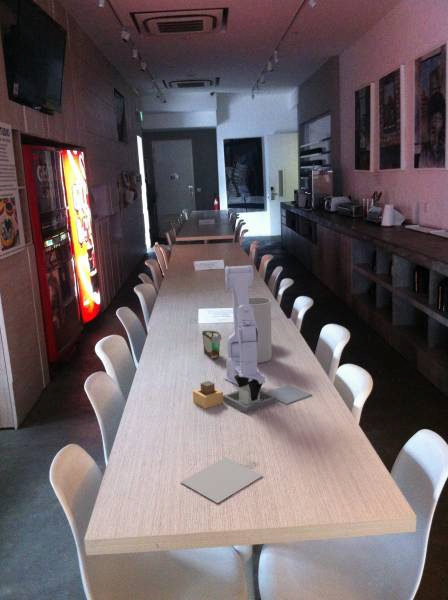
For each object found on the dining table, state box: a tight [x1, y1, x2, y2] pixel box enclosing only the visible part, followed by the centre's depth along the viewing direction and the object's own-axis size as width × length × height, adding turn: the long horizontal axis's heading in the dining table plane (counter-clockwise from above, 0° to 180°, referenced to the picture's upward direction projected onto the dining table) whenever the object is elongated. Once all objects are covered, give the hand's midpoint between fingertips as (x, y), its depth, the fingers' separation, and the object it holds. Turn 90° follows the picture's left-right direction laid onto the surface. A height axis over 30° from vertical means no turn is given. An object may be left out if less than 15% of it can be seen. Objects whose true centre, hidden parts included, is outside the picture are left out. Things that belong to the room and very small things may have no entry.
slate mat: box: [265, 384, 312, 405], centre depth 198 cm, size 12×12×1 cm
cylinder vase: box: [249, 296, 273, 364], centre depth 232 cm, size 12×12×25 cm
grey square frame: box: [223, 389, 277, 414], centre depth 193 cm, size 13×13×2 cm
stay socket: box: [192, 387, 224, 409], centre depth 193 cm, size 7×7×4 cm
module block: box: [238, 385, 261, 406], centre depth 192 cm, size 5×5×5 cm
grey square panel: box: [180, 457, 264, 504], centre depth 152 cm, size 23×25×1 cm
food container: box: [201, 330, 223, 361], centre depth 240 cm, size 12×6×10 cm, turn 22°
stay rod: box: [200, 380, 216, 395], centre depth 193 cm, size 3×3×7 cm
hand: (249, 397), depth 193 cm, fingers closed on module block, 5 cm apart
